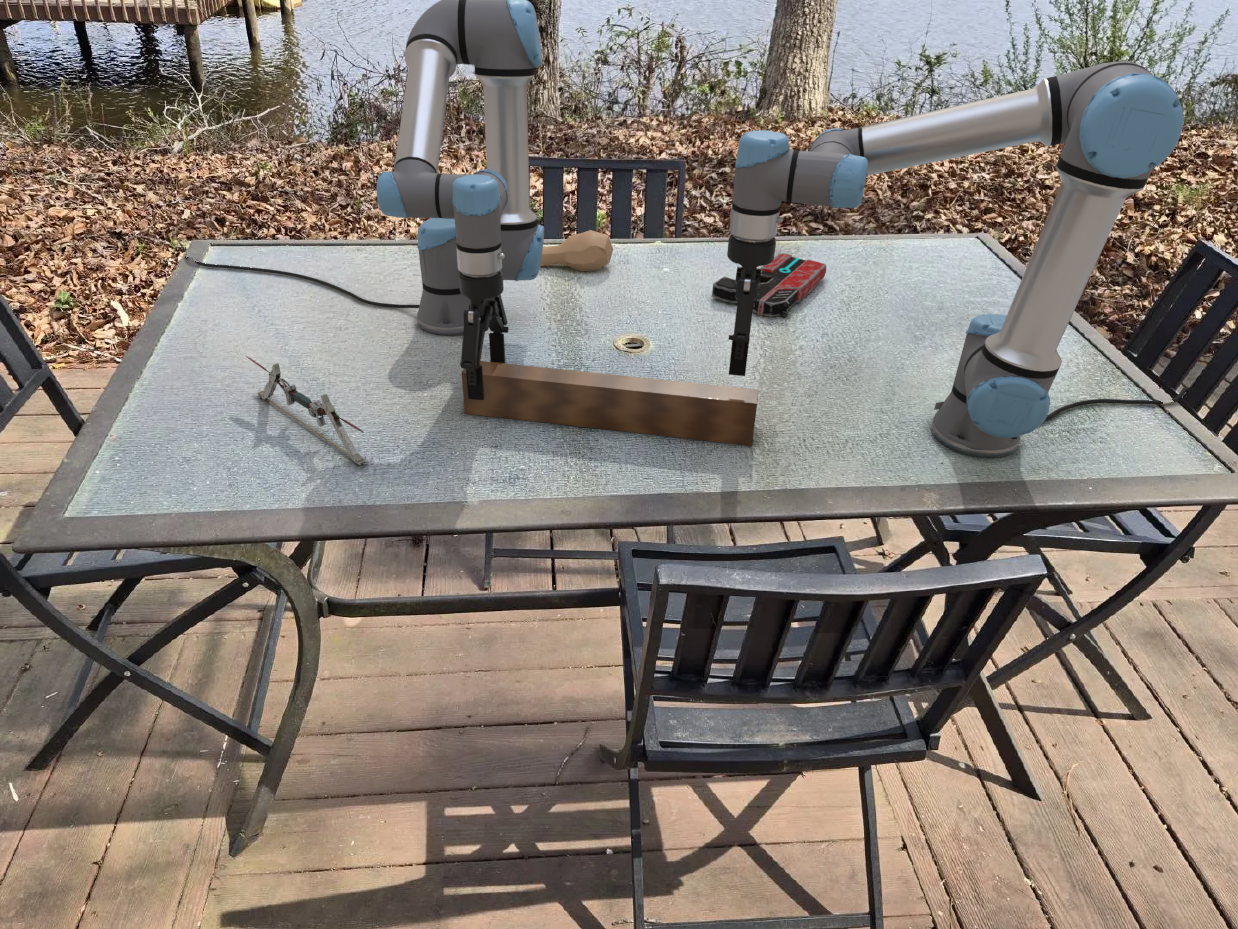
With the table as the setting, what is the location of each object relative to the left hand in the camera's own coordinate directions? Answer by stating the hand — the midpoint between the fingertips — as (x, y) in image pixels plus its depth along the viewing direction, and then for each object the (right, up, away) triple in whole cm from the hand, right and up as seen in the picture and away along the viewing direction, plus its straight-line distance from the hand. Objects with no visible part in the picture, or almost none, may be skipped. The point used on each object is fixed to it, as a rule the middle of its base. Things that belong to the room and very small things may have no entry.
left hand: (487, 381), depth 161 cm
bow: (-32, -9, -4) cm, 33 cm away
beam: (+22, -7, +1) cm, 23 cm away
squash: (+13, +36, +65) cm, 76 cm away
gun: (+62, +27, +55) cm, 87 cm away
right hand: (+45, +3, -11) cm, 46 cm away
